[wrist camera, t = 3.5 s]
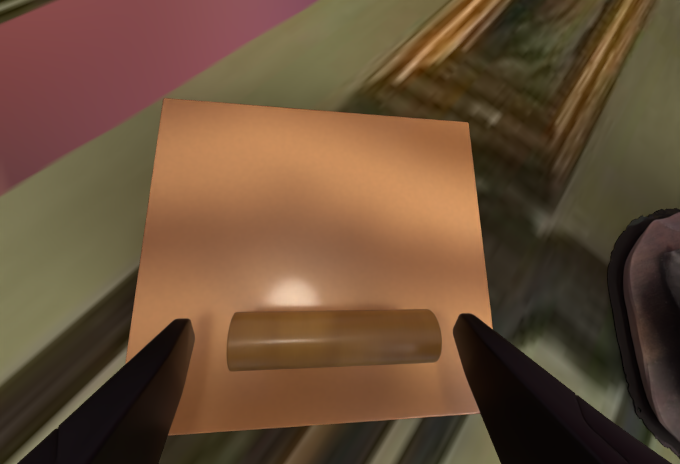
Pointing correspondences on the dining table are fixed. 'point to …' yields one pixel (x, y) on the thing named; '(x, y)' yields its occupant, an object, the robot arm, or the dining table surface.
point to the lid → (311, 264)
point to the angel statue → (650, 318)
